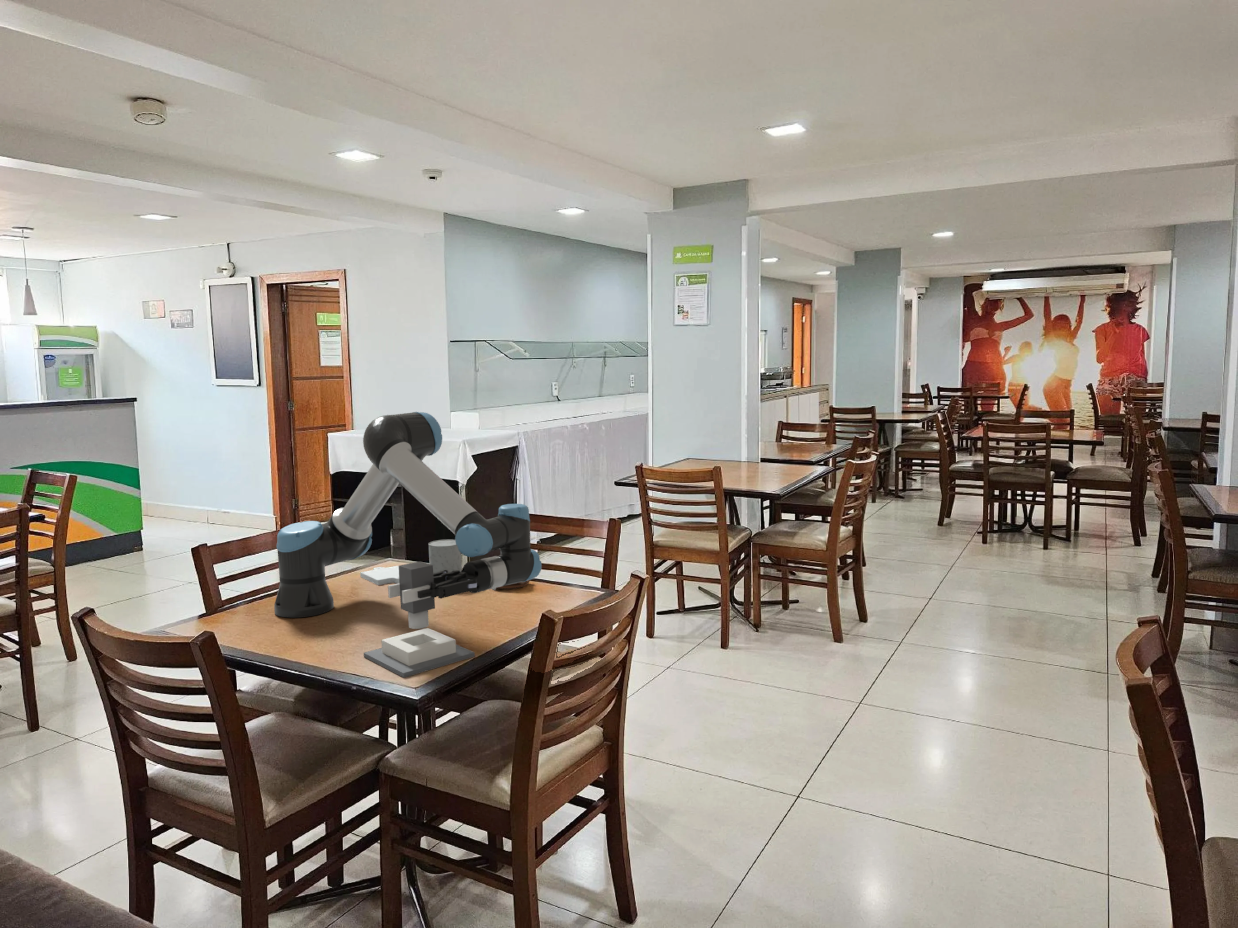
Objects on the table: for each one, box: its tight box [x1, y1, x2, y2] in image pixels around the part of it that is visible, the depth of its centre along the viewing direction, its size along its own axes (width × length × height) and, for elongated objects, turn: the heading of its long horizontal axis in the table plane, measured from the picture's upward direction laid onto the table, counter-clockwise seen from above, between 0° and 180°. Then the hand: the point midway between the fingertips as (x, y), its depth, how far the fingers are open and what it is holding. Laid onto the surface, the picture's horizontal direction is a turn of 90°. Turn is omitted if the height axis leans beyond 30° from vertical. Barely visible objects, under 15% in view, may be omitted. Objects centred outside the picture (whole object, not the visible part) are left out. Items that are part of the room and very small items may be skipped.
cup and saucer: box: [496, 580, 531, 590], centre depth 253 cm, size 12×12×6 cm
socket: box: [363, 627, 476, 678], centre depth 195 cm, size 18×18×4 cm
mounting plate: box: [359, 565, 399, 586], centre depth 266 cm, size 18×13×2 cm
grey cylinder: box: [428, 538, 463, 573], centre depth 258 cm, size 10×10×12 cm
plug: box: [398, 561, 436, 630], centre depth 193 cm, size 6×6×14 cm
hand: (396, 594), depth 189 cm, fingers closed on plug, 5 cm apart
